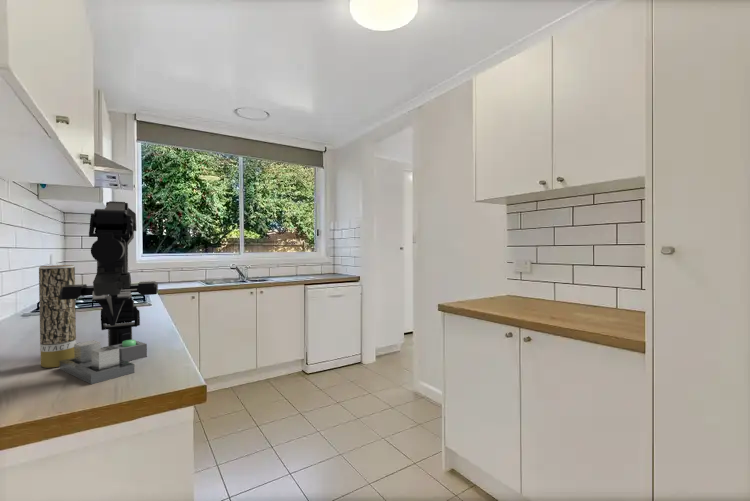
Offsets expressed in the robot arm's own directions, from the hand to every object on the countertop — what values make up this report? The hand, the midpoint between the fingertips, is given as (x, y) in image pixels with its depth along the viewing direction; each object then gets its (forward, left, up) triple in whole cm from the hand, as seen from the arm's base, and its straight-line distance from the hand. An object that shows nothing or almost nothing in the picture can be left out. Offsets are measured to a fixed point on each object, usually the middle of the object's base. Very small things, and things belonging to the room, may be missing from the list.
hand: (113, 325), depth 88 cm
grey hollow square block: (-6, +6, -11) cm, 14 cm away
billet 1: (-7, -3, -11) cm, 13 cm away
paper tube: (-16, -6, -11) cm, 20 cm away
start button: (-6, +6, -9) cm, 12 cm away
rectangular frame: (-2, -3, -11) cm, 11 cm away
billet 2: (+3, -3, -11) cm, 11 cm away
